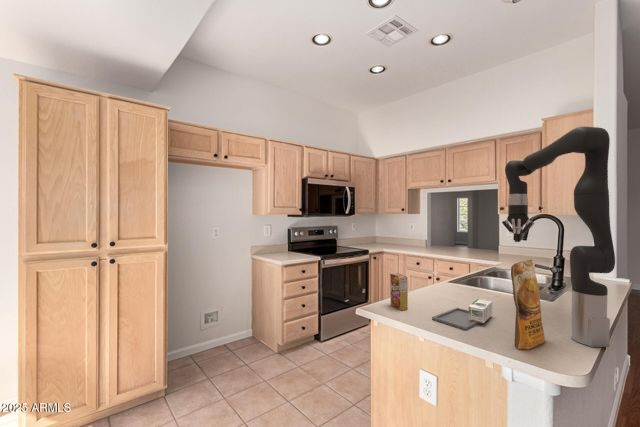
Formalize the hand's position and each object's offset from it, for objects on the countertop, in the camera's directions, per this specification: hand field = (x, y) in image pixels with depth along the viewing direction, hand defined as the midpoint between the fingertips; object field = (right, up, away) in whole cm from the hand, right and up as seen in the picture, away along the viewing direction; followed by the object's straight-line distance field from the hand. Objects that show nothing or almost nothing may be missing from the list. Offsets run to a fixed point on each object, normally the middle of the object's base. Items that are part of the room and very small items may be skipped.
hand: (517, 241), depth 138 cm
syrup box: (-19, -27, -8) cm, 34 cm away
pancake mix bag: (-19, -32, -35) cm, 51 cm away
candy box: (-54, -31, +3) cm, 62 cm away
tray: (-32, -31, -13) cm, 47 cm away
